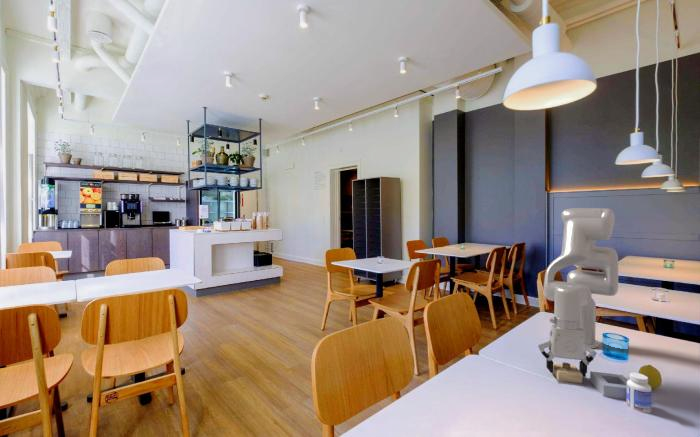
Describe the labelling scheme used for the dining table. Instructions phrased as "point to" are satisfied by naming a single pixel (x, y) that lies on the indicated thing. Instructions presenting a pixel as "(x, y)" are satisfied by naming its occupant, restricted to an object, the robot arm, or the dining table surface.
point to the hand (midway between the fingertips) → (566, 372)
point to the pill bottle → (639, 393)
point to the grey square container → (609, 384)
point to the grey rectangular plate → (570, 382)
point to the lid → (567, 372)
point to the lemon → (651, 376)
